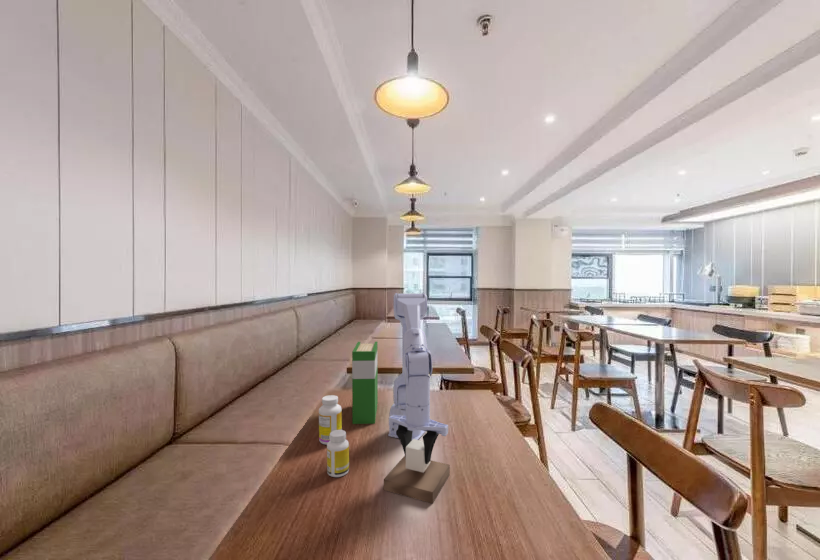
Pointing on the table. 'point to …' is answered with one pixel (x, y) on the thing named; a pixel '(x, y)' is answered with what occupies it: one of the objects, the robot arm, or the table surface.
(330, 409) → the supplement bottle
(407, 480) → the walnut block
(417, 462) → the cream block
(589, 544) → the table surface
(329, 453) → the supplement bottle
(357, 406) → the hardback book
